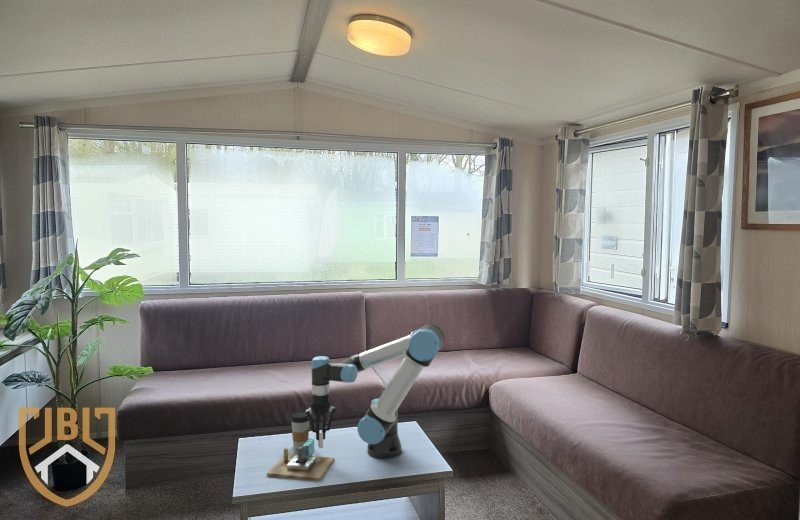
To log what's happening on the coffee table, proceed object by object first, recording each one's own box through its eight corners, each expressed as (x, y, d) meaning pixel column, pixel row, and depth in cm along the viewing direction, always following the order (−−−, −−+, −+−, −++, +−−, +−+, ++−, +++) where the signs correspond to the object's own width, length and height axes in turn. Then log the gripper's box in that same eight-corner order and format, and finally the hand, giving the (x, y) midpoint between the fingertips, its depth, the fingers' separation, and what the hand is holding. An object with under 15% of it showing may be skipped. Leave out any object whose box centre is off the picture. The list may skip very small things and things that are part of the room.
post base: (334, 460, 215) (334, 440, 215) (319, 481, 197) (319, 459, 197) (285, 456, 219) (285, 437, 219) (267, 476, 201) (266, 455, 201)
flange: (321, 453, 219) (321, 439, 218) (308, 470, 203) (308, 455, 203) (301, 451, 220) (301, 438, 220) (286, 468, 205) (286, 454, 204)
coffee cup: (305, 451, 223) (305, 418, 223) (288, 450, 225) (287, 417, 224) (312, 444, 232) (312, 411, 231) (295, 442, 233) (295, 410, 232)
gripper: (333, 389, 222) (333, 441, 223) (303, 391, 218) (304, 445, 219) (337, 394, 215) (337, 448, 216) (306, 397, 211) (306, 452, 212)
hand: (320, 446), depth 218 cm, fingers closed
